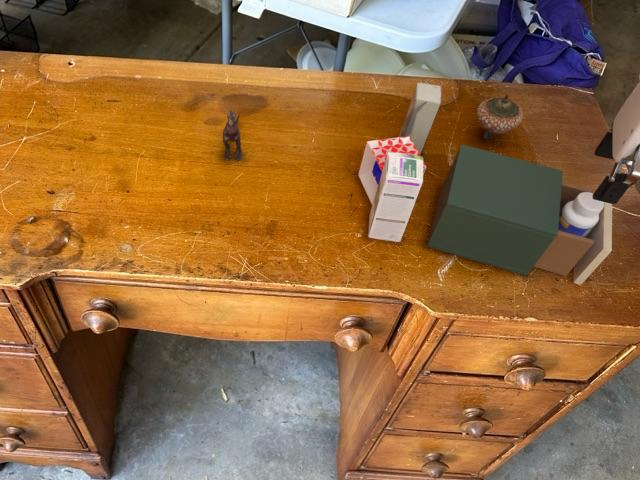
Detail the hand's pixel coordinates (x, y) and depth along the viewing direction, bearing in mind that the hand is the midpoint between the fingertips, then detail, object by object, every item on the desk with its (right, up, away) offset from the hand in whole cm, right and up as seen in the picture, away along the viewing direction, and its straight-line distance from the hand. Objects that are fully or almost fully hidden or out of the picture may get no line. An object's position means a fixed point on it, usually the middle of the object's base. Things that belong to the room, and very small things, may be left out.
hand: (603, 177), depth 83 cm
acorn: (-4, +14, +29) cm, 33 cm away
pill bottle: (0, -8, +12) cm, 15 cm away
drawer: (-3, -8, +13) cm, 16 cm away
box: (-21, +11, +27) cm, 36 cm away
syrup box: (-28, -6, +16) cm, 33 cm away
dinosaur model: (-55, +12, +26) cm, 62 cm away
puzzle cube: (-27, +3, +21) cm, 34 cm away
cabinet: (-11, -6, +16) cm, 20 cm away
